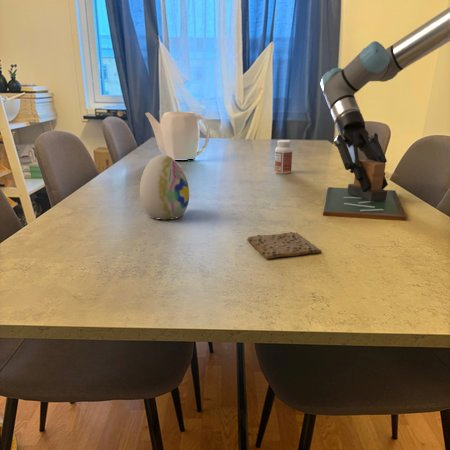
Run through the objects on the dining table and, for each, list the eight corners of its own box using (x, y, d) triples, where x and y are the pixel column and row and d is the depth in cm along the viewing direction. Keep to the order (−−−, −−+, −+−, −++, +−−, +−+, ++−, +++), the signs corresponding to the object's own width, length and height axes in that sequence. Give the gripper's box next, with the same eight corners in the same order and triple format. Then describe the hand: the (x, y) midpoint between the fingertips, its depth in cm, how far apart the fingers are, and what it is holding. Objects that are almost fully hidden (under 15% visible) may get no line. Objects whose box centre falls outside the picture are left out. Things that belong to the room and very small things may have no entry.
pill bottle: (291, 171, 161) (293, 139, 156) (290, 174, 156) (292, 142, 151) (274, 170, 162) (276, 139, 157) (273, 173, 157) (274, 141, 152)
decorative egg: (177, 224, 104) (173, 160, 97) (133, 219, 107) (126, 157, 101) (197, 211, 114) (195, 152, 107) (156, 207, 118) (152, 149, 111)
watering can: (152, 156, 193) (148, 110, 184) (211, 156, 192) (210, 110, 184) (145, 162, 179) (140, 113, 171) (208, 162, 178) (207, 113, 170)
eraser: (385, 199, 119) (391, 164, 115) (370, 201, 117) (376, 165, 113) (361, 191, 128) (366, 157, 124) (347, 192, 127) (351, 159, 122)
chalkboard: (394, 193, 130) (395, 190, 129) (405, 220, 106) (406, 216, 105) (326, 190, 134) (327, 186, 134) (322, 215, 110) (323, 211, 109)
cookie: (322, 252, 86) (323, 248, 86) (266, 259, 83) (266, 255, 83) (297, 234, 97) (297, 230, 96) (246, 239, 93) (246, 235, 93)
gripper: (367, 126, 131) (394, 193, 125) (315, 129, 125) (340, 198, 119) (381, 108, 124) (410, 177, 118) (327, 110, 118) (354, 183, 112)
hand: (375, 188), depth 118 cm, fingers closed on eraser, 5 cm apart
